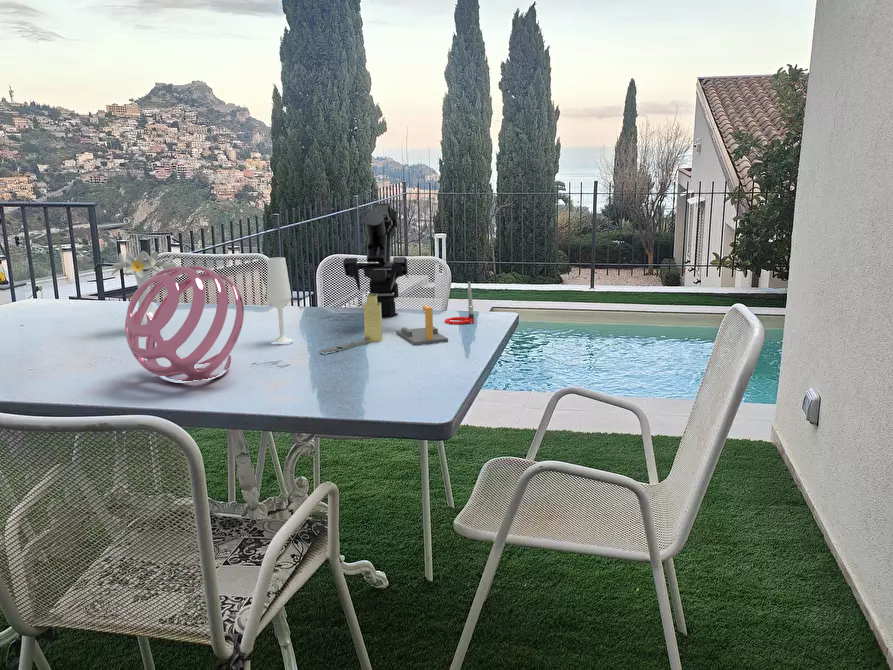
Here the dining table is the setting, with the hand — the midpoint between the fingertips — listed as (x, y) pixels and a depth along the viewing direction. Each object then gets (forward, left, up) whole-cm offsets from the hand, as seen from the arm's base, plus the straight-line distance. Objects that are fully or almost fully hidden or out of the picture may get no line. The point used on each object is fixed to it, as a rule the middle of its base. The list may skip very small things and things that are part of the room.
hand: (374, 289), depth 210 cm
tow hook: (+11, +27, -14) cm, 32 cm away
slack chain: (+4, -18, -13) cm, 23 cm away
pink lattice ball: (-7, -59, -14) cm, 61 cm away
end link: (+4, -6, -13) cm, 15 cm away
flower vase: (-62, -35, -14) cm, 72 cm away
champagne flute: (-16, -22, -14) cm, 31 cm away
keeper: (+15, +3, -13) cm, 20 cm away
